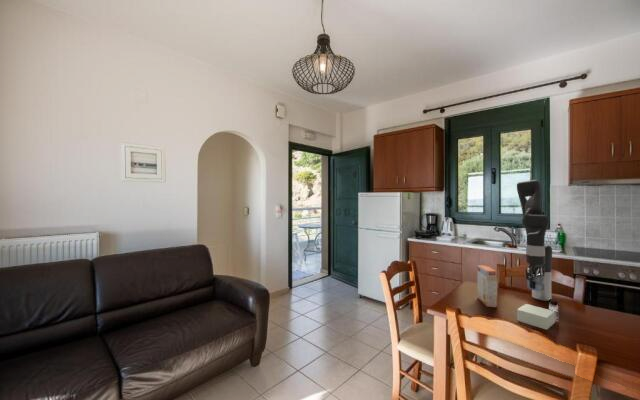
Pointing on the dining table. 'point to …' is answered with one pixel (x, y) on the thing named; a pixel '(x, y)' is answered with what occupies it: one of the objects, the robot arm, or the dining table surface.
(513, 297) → the dining table surface
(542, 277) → the slate block
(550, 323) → the sage block
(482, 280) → the cracker box
